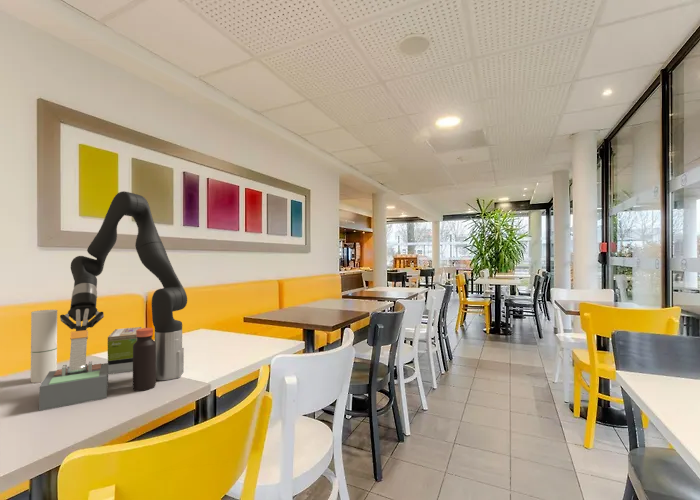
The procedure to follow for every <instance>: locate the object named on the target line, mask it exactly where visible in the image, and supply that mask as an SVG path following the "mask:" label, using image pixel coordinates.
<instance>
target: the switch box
mask: <svg viewBox="0 0 700 500" xmlns="http://www.w3.org/2000/svg"><path fill="white" fill-rule="evenodd" d="M67 367H68V366H67V364H64V365H62V367H61V369H57V370H56V371H49V373H48V374H47V376H46V378H45V379H44V381H43V382H41V383H40V385H39V388H38V389H39V390H38V391H39V394H38V395H39V397H38V398H39V399H38V400H39V401H38V403H39V404H38V407H39V408H38V410H39V412H40V411H47V410H52V409H57V408H62V407H67V406H72V405H77V404H82V403H87V402H93V401H98V400H99V401H100V400H103V399H107V396H108V395H107V394H108V387H109V374H108V362H106V363H96V364H93V361H92V360H90V361H88V364H87V372H80V373H74V374H67Z"/></svg>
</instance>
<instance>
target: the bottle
mask: <svg viewBox="0 0 700 500" xmlns="http://www.w3.org/2000/svg"><path fill="white" fill-rule="evenodd" d="M153 331H154V328H153V327H141V329H137V330H136V338H137V341H136V342H135V343H134V345H133V371H132V390H134V391H135V392H144V391H148V390H151V389H153V388H154V387H156V385H157V383H156V381H157V380H156V342H155V339H153V335H154V334H153V333H154V332H153Z"/></svg>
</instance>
